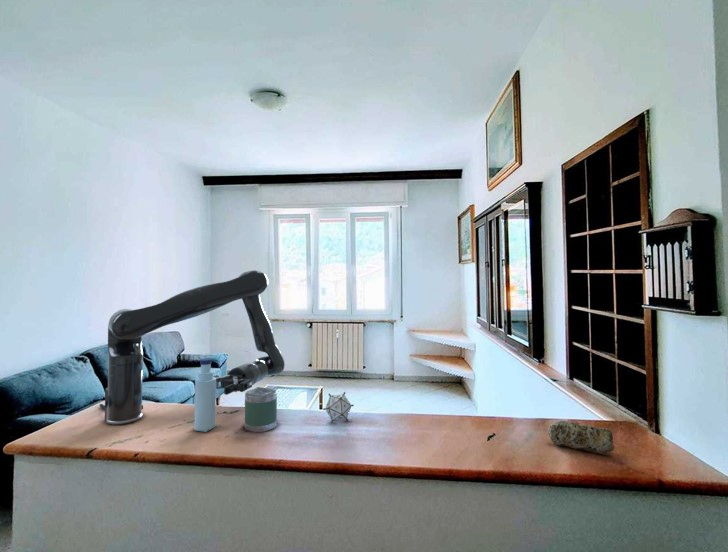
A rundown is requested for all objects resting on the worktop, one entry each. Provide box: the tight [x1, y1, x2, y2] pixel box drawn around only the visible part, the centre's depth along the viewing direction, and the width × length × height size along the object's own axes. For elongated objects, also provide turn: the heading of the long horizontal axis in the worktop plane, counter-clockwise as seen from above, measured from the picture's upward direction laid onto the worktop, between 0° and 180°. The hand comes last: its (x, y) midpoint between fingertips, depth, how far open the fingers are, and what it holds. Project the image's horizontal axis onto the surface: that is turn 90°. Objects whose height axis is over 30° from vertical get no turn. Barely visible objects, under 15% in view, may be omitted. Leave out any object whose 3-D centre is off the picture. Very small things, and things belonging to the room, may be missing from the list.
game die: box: [322, 391, 355, 424], centre depth 121 cm, size 9×8×10 cm
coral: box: [547, 419, 615, 456], centre depth 102 cm, size 14×6×6 cm, turn 58°
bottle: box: [193, 357, 217, 433], centre depth 115 cm, size 6×6×20 cm
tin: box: [244, 386, 278, 433], centre depth 117 cm, size 9×9×10 cm
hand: (213, 389), depth 118 cm, fingers open, 8 cm apart
